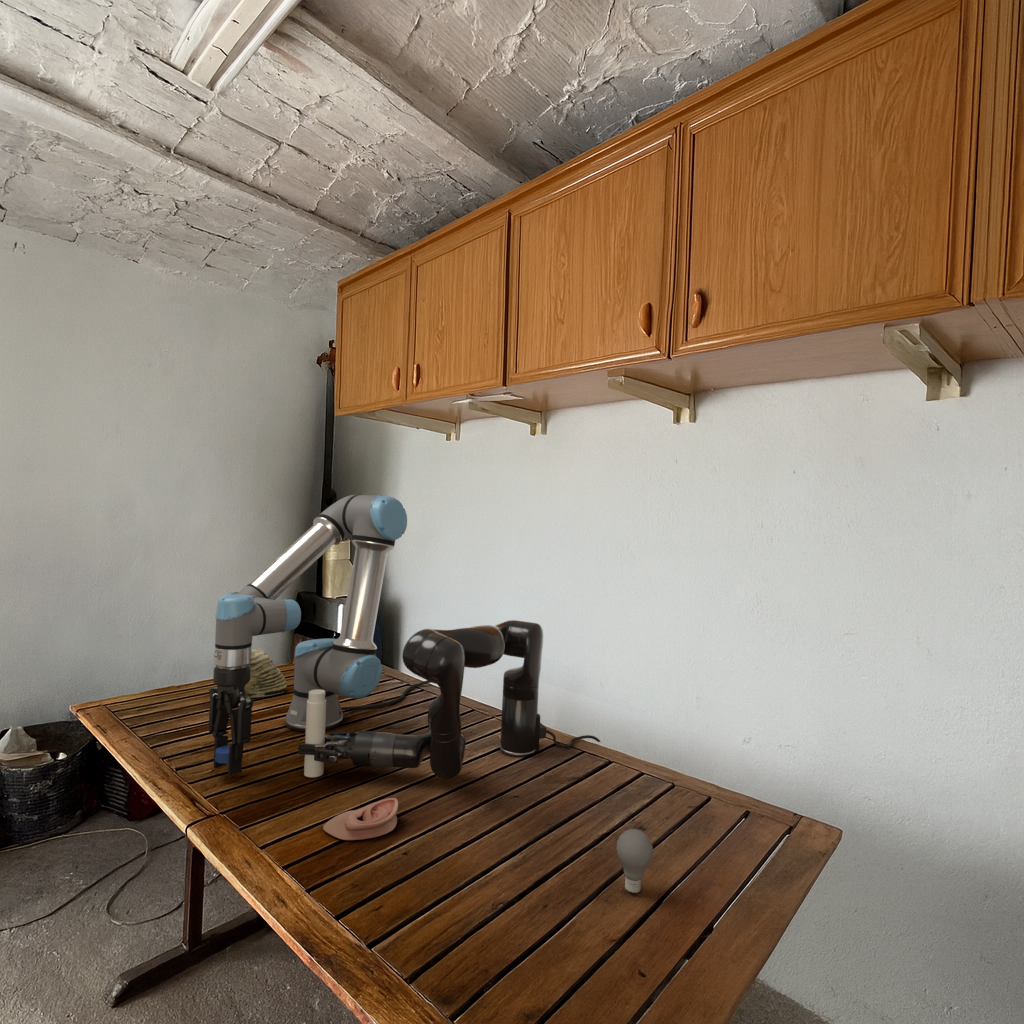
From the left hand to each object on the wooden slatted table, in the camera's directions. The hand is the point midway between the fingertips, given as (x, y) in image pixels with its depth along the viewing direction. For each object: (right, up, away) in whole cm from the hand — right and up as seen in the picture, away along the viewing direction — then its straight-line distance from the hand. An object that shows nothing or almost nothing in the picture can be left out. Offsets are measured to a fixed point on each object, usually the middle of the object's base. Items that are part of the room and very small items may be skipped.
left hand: (227, 769), depth 141 cm
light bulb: (+83, -6, -35) cm, 91 cm away
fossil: (-17, 0, +57) cm, 60 cm away
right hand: (+16, +4, +4) cm, 17 cm away
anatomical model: (+34, -4, -18) cm, 39 cm away
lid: (0, +4, 0) cm, 4 cm away
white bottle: (+18, -3, +4) cm, 19 cm away
